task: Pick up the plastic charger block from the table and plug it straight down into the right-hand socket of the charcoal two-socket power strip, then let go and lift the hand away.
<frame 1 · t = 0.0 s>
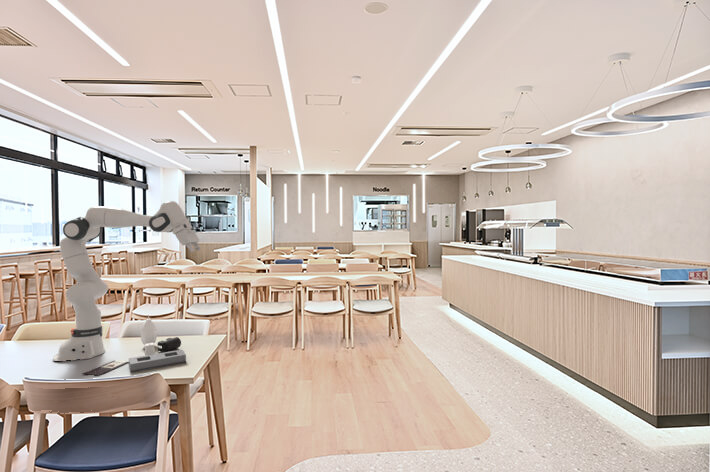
hand: (196, 250, 213), 54 cm above the table, tool tilted 30°, fingers open, 8 cm apart
chocolate bar: (106, 369, 188), on the table
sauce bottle: (149, 346, 223), on the table
power strip: (157, 364, 193), on the table
charger: (149, 357, 203), on the table
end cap: (169, 352, 213), on the table
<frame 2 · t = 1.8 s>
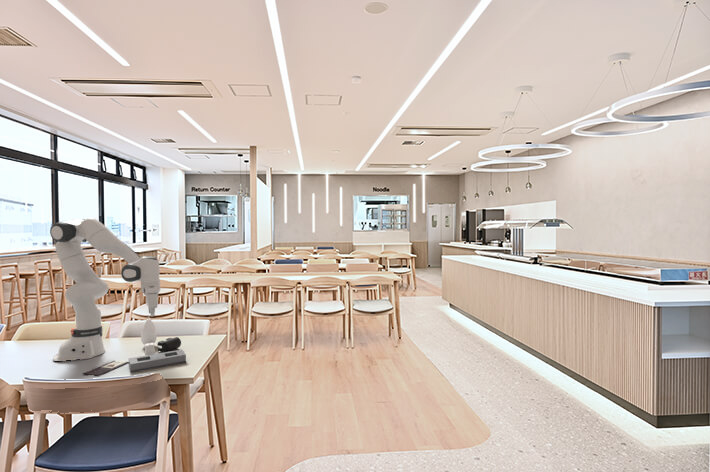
hand: (151, 314, 203), 22 cm above the table, tool pointing down, fingers open, 8 cm apart
nothing on the table moved.
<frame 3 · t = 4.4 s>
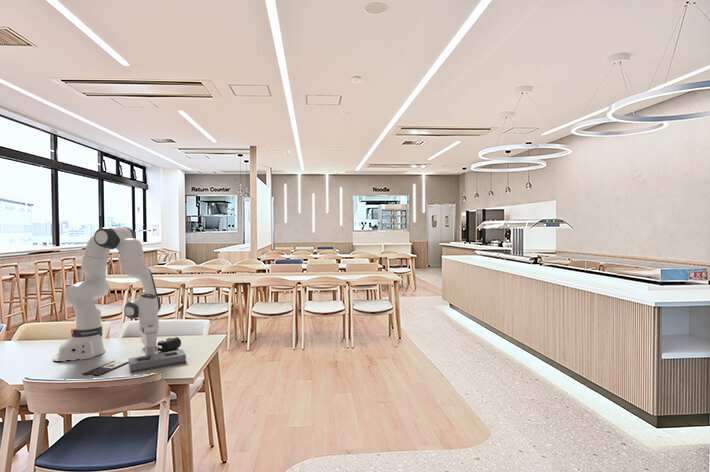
hand: (149, 352, 203), 3 cm above the table, tool pointing down, fingers closed on charger, 4 cm apart
charger: (149, 357, 203), on the table, touching gripper
everything else where it was.
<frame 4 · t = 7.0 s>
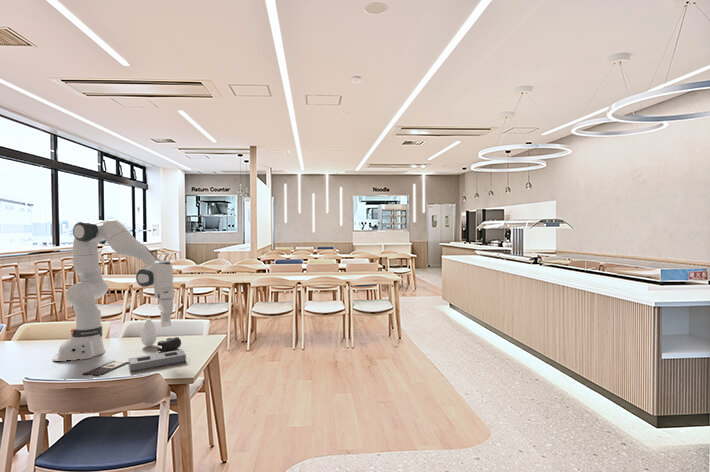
hand: (165, 320, 197), 20 cm above the table, tool pointing down, fingers closed on charger, 4 cm apart
charger: (166, 325, 198), point 18 cm above the table, touching gripper
everything else where it was.
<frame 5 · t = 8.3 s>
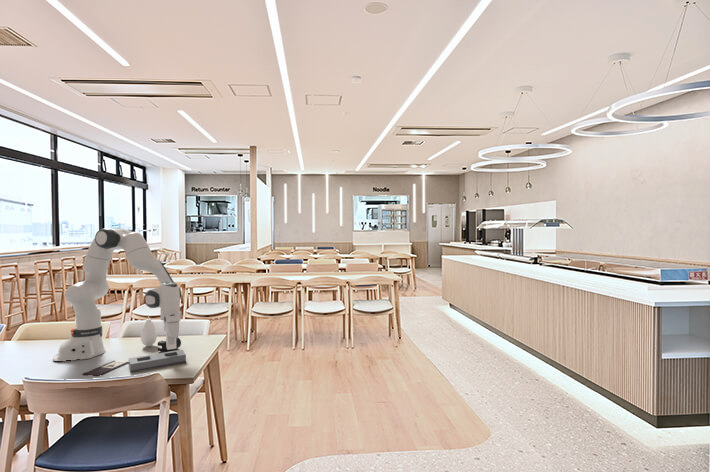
hand: (171, 342, 196), 10 cm above the table, tool pointing down, fingers closed on charger, 4 cm apart
charger: (171, 348, 196), point 7 cm above the table, touching gripper
everything else where it was.
when the fingers open (5 cm above the table, at t = 9.6 s): charger drops 1 cm, resting on power strip.
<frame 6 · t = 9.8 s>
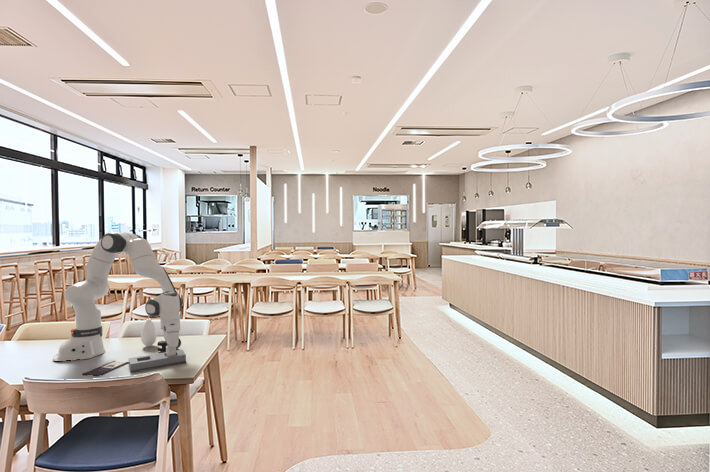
hand: (170, 352, 196), 5 cm above the table, tool pointing down, fingers open, 6 cm apart
charger: (171, 360, 196), point 1 cm above the table, touching power strip
everything else where it was.
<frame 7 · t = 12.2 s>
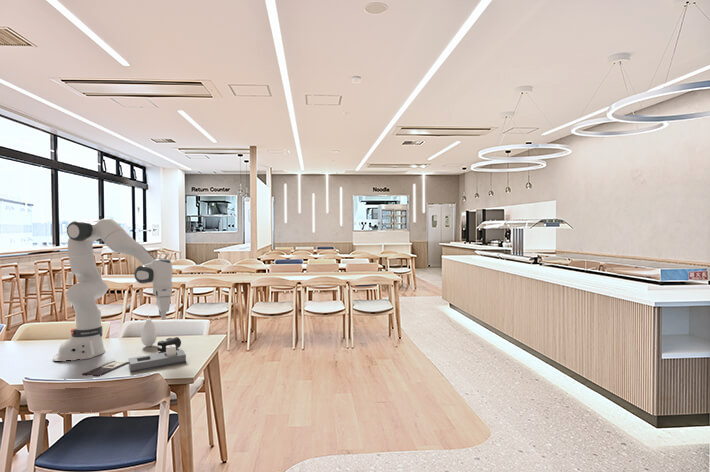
hand: (162, 317, 201), 21 cm above the table, tool pointing down, fingers open, 8 cm apart
nothing on the table moved.
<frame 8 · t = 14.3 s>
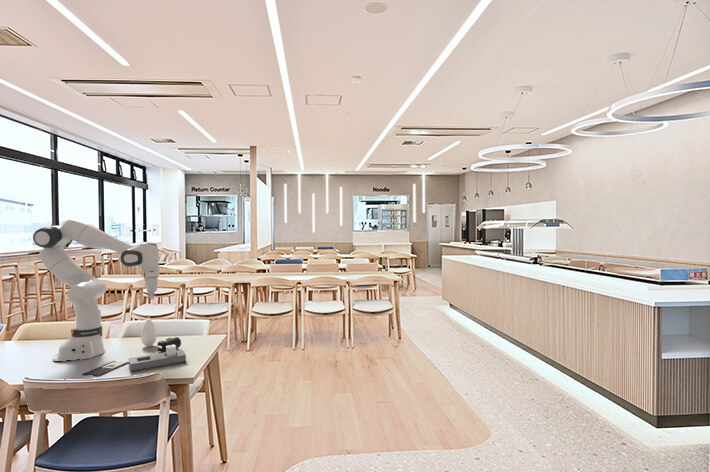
hand: (150, 298, 212), 29 cm above the table, tool pointing down, fingers open, 8 cm apart
nothing on the table moved.
at the end: charger 0.0 cm from the target spot on the power strip, point 1.0 cm above the power strip's base; charger tilted 0°; the gripper is holding nothing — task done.
